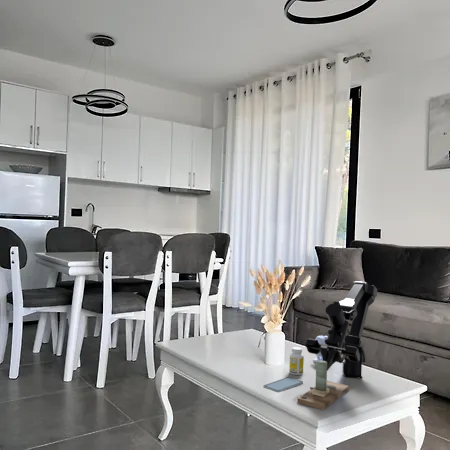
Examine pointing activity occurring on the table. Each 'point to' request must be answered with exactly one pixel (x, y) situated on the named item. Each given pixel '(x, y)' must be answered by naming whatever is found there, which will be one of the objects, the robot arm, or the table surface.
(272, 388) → the smartphone
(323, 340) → the toy figurine
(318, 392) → the pale green upright block
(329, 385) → the stepped wooden base
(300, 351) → the supplement bottle
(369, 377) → the table surface
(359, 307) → the robot arm
